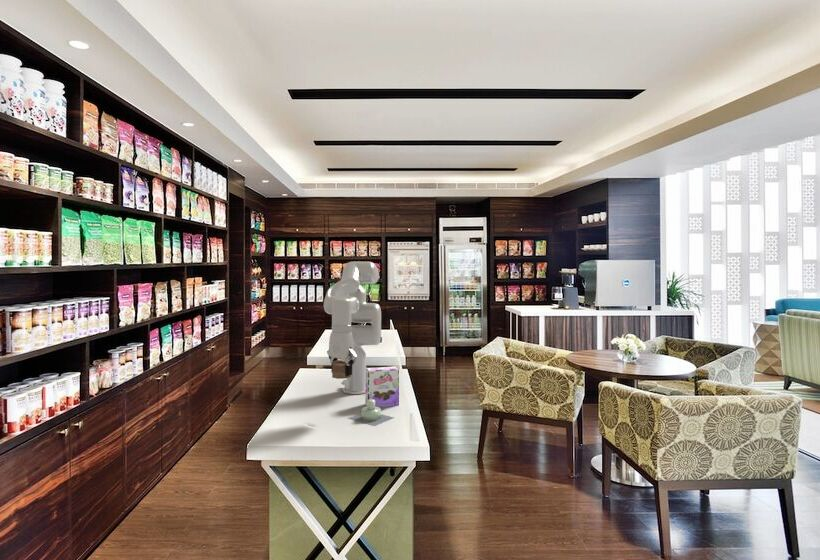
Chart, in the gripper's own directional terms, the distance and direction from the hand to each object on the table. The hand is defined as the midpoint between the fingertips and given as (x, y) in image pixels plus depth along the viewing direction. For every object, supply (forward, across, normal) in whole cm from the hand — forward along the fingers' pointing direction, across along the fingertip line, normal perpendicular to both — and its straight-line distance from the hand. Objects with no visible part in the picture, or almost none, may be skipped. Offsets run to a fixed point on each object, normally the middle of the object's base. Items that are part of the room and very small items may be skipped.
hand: (341, 373), depth 184 cm
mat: (+18, +10, +6) cm, 21 cm away
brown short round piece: (+1, 0, 0) cm, 1 cm away
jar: (+17, +10, +6) cm, 21 cm away
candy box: (+18, +2, +22) cm, 28 cm away
